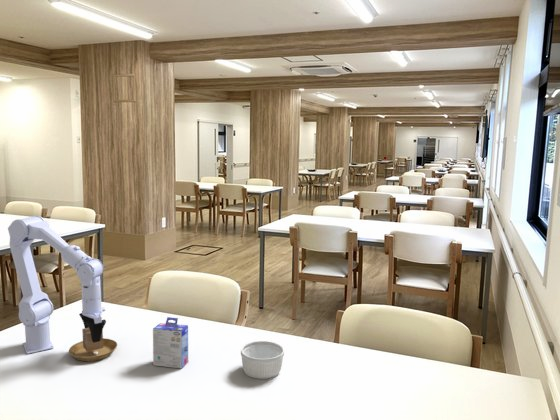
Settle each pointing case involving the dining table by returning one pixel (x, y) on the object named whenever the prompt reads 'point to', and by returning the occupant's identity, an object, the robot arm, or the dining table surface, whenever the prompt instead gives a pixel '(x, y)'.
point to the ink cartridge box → (170, 344)
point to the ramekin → (262, 359)
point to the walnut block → (89, 343)
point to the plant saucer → (83, 355)
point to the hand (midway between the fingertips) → (93, 337)
